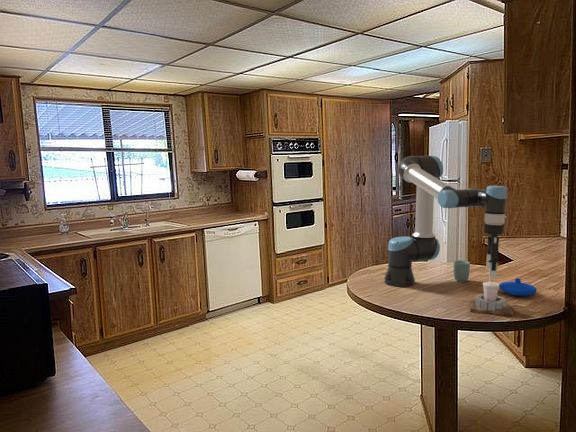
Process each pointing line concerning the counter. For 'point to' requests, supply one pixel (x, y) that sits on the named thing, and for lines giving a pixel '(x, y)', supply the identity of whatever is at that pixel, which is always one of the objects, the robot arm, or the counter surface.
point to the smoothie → (490, 290)
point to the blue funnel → (517, 288)
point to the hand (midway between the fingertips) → (491, 273)
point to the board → (504, 312)
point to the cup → (461, 270)
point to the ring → (490, 303)
